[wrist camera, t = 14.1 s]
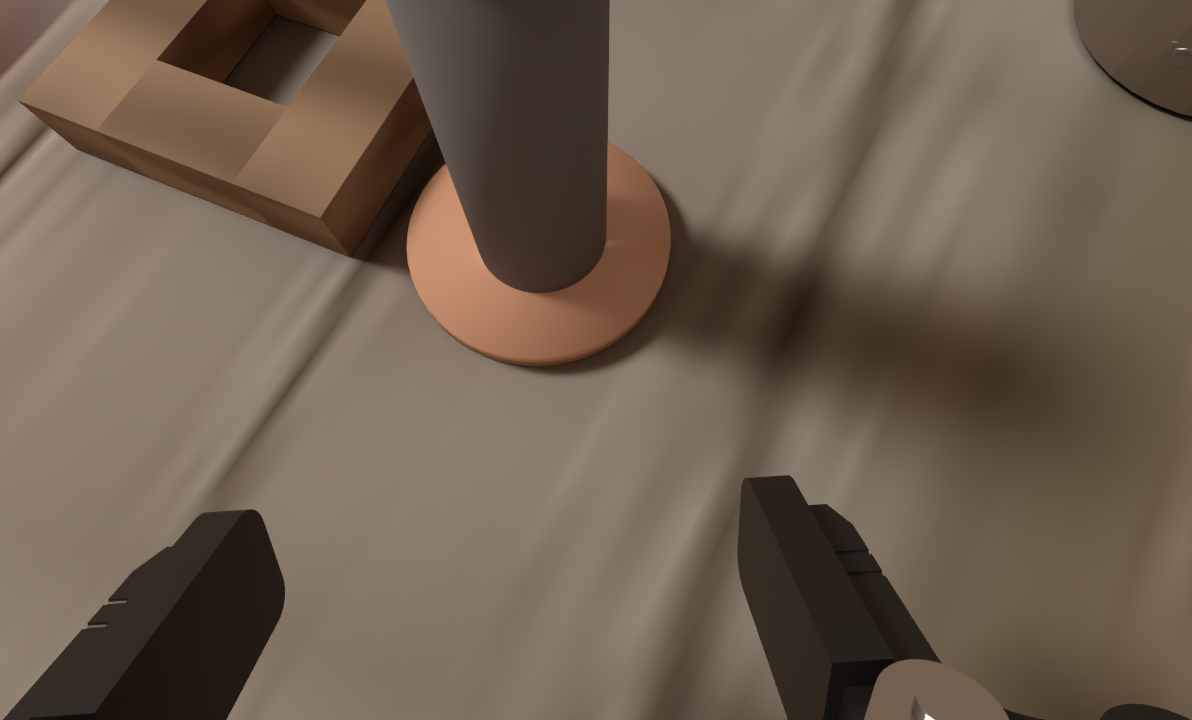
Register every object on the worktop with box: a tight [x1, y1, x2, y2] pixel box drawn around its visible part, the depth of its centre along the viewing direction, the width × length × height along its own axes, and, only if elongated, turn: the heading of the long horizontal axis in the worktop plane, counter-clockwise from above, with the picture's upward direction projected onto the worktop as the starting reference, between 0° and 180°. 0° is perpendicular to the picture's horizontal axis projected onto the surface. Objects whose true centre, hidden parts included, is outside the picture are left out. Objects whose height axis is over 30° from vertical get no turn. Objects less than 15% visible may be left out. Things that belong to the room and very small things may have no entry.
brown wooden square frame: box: [18, 0, 432, 257], centre depth 23 cm, size 12×12×2 cm
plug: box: [385, 0, 609, 293], centre depth 15 cm, size 5×5×13 cm
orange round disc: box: [407, 142, 671, 366], centre depth 21 cm, size 9×9×1 cm
